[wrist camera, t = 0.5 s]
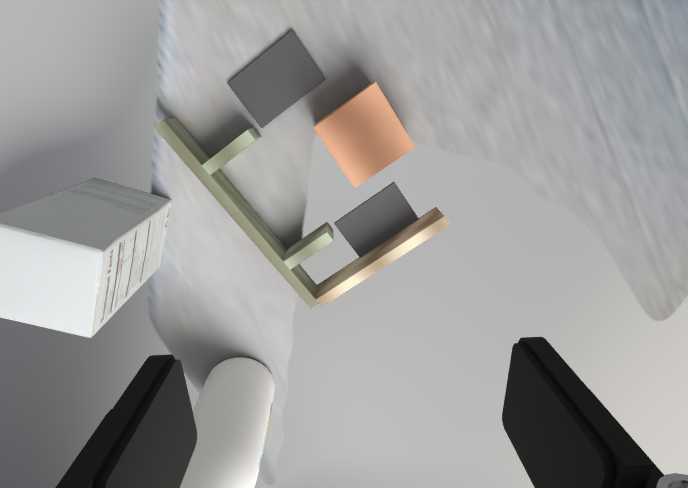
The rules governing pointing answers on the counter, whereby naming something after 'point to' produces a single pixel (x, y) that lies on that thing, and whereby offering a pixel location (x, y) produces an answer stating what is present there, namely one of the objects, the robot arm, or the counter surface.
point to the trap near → (276, 79)
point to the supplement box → (79, 254)
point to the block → (364, 134)
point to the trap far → (376, 220)
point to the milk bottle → (231, 425)
